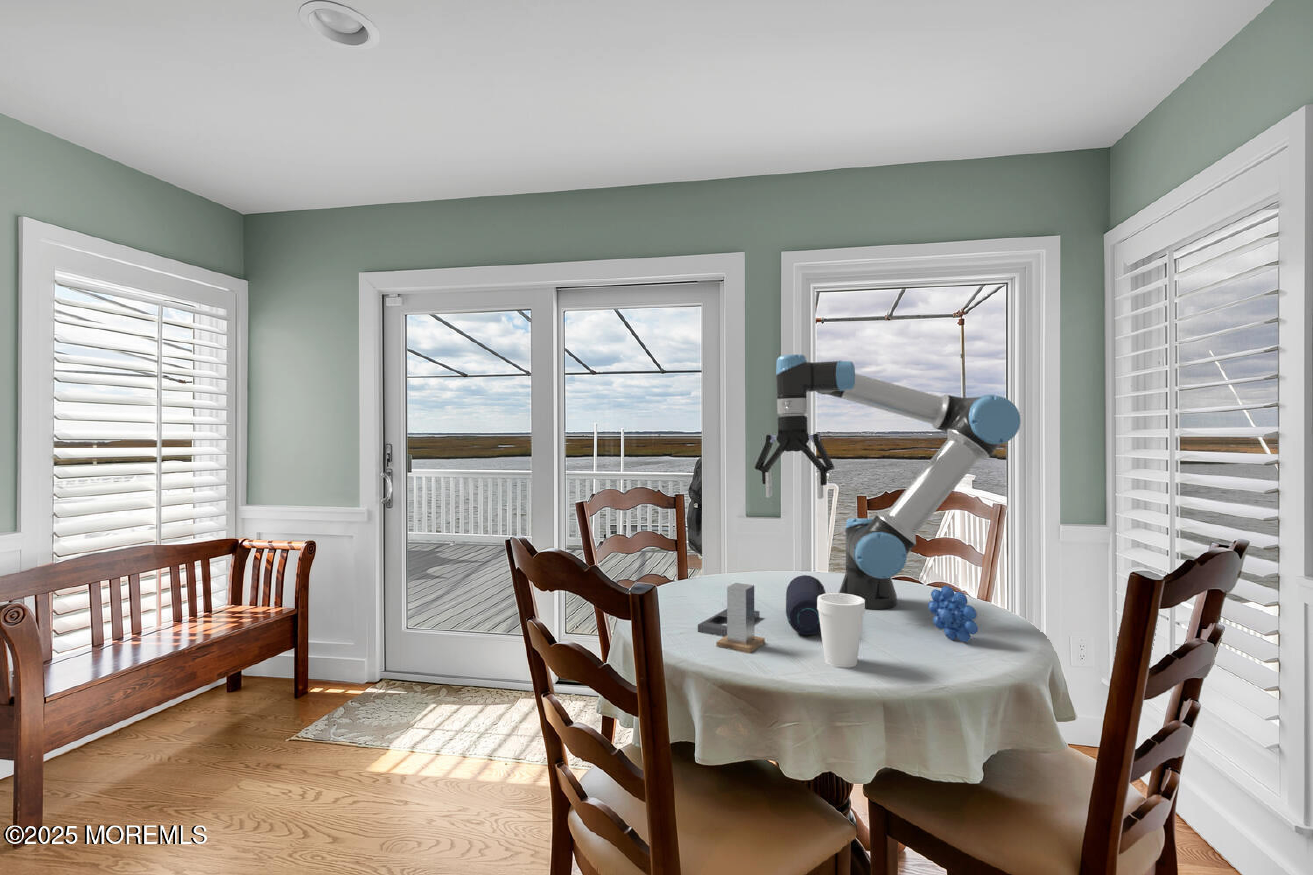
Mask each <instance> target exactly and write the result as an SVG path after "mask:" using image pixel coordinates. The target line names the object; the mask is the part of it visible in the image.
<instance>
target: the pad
mask: <svg viewBox="0 0 1313 875" xmlns="http://www.w3.org/2000/svg"><path fill="white" fill-rule="evenodd" d="M765 639H766V638H765V637H760V636H757V635H754V639H753V640H752V641H751V642H749V643H748V644H746V645H745V644H740V643H735V642H730V641H727V636H723V637H722V638H720V639H719V640H718V641H716V647H717V646H721V647H720V648H722V647H725V648H724V649H727V648H730V649H729V650H732V649H734V650H733V651H737V650H738V652H743V653H749V654H751V653H752V652H753V651H755V650H756V649H758V648H759V647H760V646H762V645H764V644H765V641H766V640H765Z"/></svg>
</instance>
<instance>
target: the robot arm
mask: <svg viewBox="0 0 1313 875" xmlns="http://www.w3.org/2000/svg"><path fill="white" fill-rule="evenodd" d="M775 370H776V371H775V372H776V373H775V374H776V376H775V377H776V379H775V381H776V402H777V403H776V405H777V408H776V409H777V410H776V411H777V414H778V415H779V416H778V418H777V435H774V434H767V435H765V442H764V443H765V444H764V445H763V447H762V450H761V452H760V455H759V457H758V459H757V461H756V463H755V465H754V470H757V471H759V472H761V474H762V475H761V478H762V479H761V482H762V485H765V498H772V497H773V477H772V476H773V475H772V474H773V473H772V471H770V469H771V468H772V467H773V466H774V464H775V463H776V462H777V461H778V459H780V457H781V455H782V454H783V453H784V452H786V453H787V452H802V453H803V454H805V455H806V457H807V458H808V460H810V461H811V462H812V463H811V464H813V465H814V467H816V468H817V470H818V471H819V472H816V485H817V487H816V488H817V493H816V494H817V499H818V500H821V499H823V498H824V486H827V485H828V476H827V475H828V474H827V473H828V472H829V471H831V470H834V469H835V466H834V463H833V462H832V460H831V458H830V456H829V454H828V452H827V450H826V448H825V446H824V445H823V442H822V439H821V434H820V433H819V432H818V433H813V434H809V432H808V417H807V415H806V414H808V399H807V392H808V393H809V392H810V393H812V392H816V393H818V394H820V395H825V396H826V395H828V396H832V397H835V398H839V399H843V400H846V401H850V402H854V403H857V404H861V405H864V406H868V407H872V408H875V409H879V410H881V411H886V412H888V413H892V414H896V415H900V416H902V417H903V416H904V417H906V418H910V419H914V420H917V421H921V422H923V423H927V424H931V425H932V427H933V429H934V430H938V431H941V432H946V434H947V439H946V441H945V442H944V443H943V444H942V446H940V448H939V449H938V450H937V452H936V453H935V454H934V455H933V457H931V459H930V460H929V461H928V463H927V464H926V465H925V466H924V467H923V468H922V469H921V470H920V472H919V473H918V475H916V477H915V478H914V479H913V480H912V482H911V483H910V484H909V485H908V486H907V487H906V489H905V490H904V491H903V492H902V493H901V495H900V496H899V497H898V498H897V500H896V501H895V502H894V503H893V505H892V506H890V508H889V509H888V511H887V512H884V513H877V514H876V515H875V516H874V518H860V517H859V518H847V520H846V522H845V528H844V530H845V574H844V576H843V580H842V581H841V586H840V587H839V588H840V589H839V591H838V592H839V593H844V594H851V595H855V596H859V597H861V598H863V599H864V600H865V609H871V610H880V609H881V610H883V609H891V608H894V607H896V606H897V605H898V594H897V592H896V590H895V586H894V583H893V580H892V578H893V577H895V576H896V575H899V573H900V572H902V570H903V568H904V567H905V565H906V563H907V562H906V561H907V557H908V554H909V553H910V552H911V551H912V549H914V548H915V546H916V545H917V541H916V536H917V535H916V534H917V533H918V532H920V531H921V529H922V527H923V526H924V525H925V524H926V522H928V520H929V519H930V518H931V517H932V516H933V515H934V513H935V512H936V511H937V510H938V508H939V507H940V506H941V505H942V503H944V501H946V500H947V498H948V497H949V495H950V494H951V493H952V492H953V491H954V490H955V488H956V487H957V486H958V485H959V484H960V482H961V481H962V480H963V479H964V478H965V476H966V475H967V474H968V473H969V471H971V469H972V468H973V467H974V466H975V464H976V463H978V461H981V460H986V459H989V458H990V457H991V456H992V455H993V453H994V452H995V451H996V450H997V449H998V448H999V446H1000V445H1003V444H1005V443H1007V442H1009V441H1011V440H1012V439H1014V437H1015V436H1017V434H1018V432H1019V430H1020V428H1021V422H1022V421H1021V414H1020V411H1019V409H1018V408H1017V406H1016V405H1015V403H1014V402H1012V401H1011V400H1010V399H1008V398H1006V397H1004V396H1001V395H1000V396H999V395H996V394H986V395H983V396H979V397H962V396H961V397H960V396H953V395H949V394H943V395H942V396H939V395H936V394H932V393H928V392H924V391H921V390H916V389H913V388H909V387H906V386H904V385H903V386H902V385H898V384H894V383H891V382H887V381H884V380H881V379H877V378H873V377H869V376H866V375H862V374H859V373H856V368H855V365H854V363H853V361H851V360H836V361H835V360H834V361H821V362H820V361H819V362H817V361H816V362H809V361H807V358H806V356H805V355H803V354H786V355H785V354H784V355H780V356H778V358H777V359H776V366H775ZM809 440H810V441H811V442H812V443H813V445H814V446H815V448H816V450H817V452H818V453H819V456H820V458H821V460H822V461H821V460H820V459H819V458H818V456H817V455H816V454H815V453H814V452H813V451H812V449H811V448H810V447H809V445H808V442H809ZM776 441H777V442H778V444H779V445H778V447H777V448H776V450H775V451H773V452H774V453H772V455H771V456H770V457H769V458H768V456H769V453H770V451H771V448H772V447H773V444H774V443H775V442H776ZM767 458H768V460H767ZM765 462H766V463H765Z"/></svg>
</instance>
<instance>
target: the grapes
mask: <svg viewBox="0 0 1313 875" xmlns="http://www.w3.org/2000/svg"><path fill="white" fill-rule="evenodd" d="M930 596H931V600H930V601H929V602H928V604H927V608H928V611H929V612H930V613H931V614H932V615H934V616H933V617H932V622H933V625H934V626H935V628H937V629H940V630H943V633H944V636H945V637H946V638H947V639H948V640H951V641H954V640H956V639H959V640H960V641H961V642H963V643H967V642H969V641H970V640H971V635H975V634H977V633H978V631H979V627H978V625H977V623H976V622H975V621H974V620H976V618H977V617H978V613H977V611H976V609H975V608H974V607H973V606H972V605H970V604H968V597H967V595H966V594H965V593H963V592H961V591H956V592H954V589H953V588H952V587H951V586H949V585H943V586H942V587H941V589H937V588H935V589H932V591H931V592H930Z"/></svg>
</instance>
